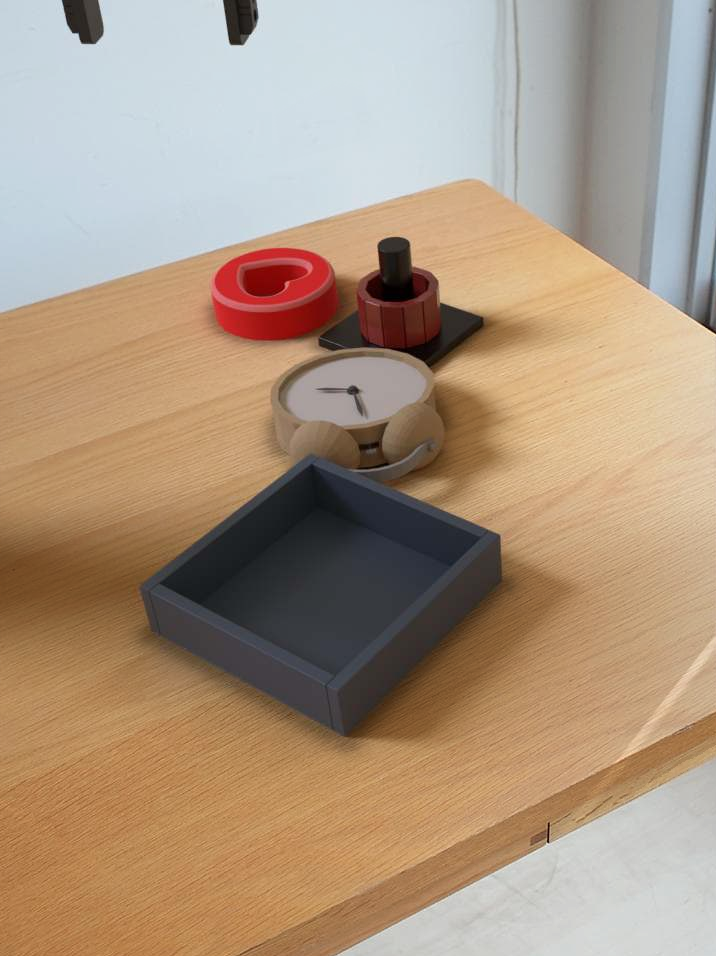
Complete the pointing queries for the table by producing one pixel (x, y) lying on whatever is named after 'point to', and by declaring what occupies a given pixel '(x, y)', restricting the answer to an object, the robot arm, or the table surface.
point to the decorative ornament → (268, 272)
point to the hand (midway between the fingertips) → (166, 40)
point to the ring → (399, 312)
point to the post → (399, 289)
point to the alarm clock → (359, 411)
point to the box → (324, 590)
